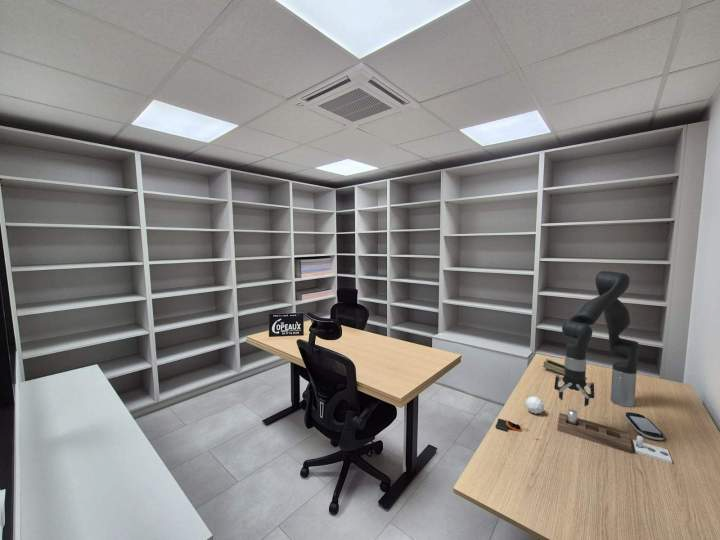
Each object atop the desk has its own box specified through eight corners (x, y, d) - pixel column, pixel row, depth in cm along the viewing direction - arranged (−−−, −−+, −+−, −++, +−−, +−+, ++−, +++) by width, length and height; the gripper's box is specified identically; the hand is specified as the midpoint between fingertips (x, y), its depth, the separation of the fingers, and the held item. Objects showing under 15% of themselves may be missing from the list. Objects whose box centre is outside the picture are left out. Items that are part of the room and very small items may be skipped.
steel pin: (567, 425, 134) (568, 408, 133) (576, 428, 132) (577, 411, 132) (567, 429, 132) (568, 411, 131) (576, 431, 130) (577, 414, 129)
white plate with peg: (632, 441, 123) (633, 430, 122) (667, 451, 117) (668, 439, 116) (635, 452, 116) (636, 440, 116) (671, 463, 110) (672, 451, 110)
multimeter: (545, 431, 131) (545, 424, 130) (540, 445, 121) (540, 437, 121) (501, 417, 142) (501, 410, 142) (493, 429, 133) (494, 421, 133)
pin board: (559, 418, 139) (559, 412, 139) (627, 438, 125) (628, 431, 125) (557, 430, 131) (557, 424, 130) (630, 453, 116) (631, 446, 116)
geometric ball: (532, 419, 144) (524, 408, 142) (529, 405, 151) (521, 394, 149) (549, 415, 140) (541, 404, 139) (544, 402, 147) (537, 390, 145)
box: (544, 365, 198) (546, 358, 197) (585, 380, 183) (587, 373, 182) (541, 369, 192) (543, 362, 190) (584, 385, 177) (586, 378, 176)
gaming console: (621, 415, 143) (621, 409, 143) (645, 418, 140) (645, 413, 139) (641, 439, 125) (641, 433, 125) (669, 444, 122) (669, 438, 122)
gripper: (595, 367, 128) (593, 403, 130) (556, 360, 137) (554, 394, 138) (596, 374, 122) (593, 411, 124) (554, 366, 131) (553, 401, 132)
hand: (573, 402), depth 131 cm, fingers open, 8 cm apart
